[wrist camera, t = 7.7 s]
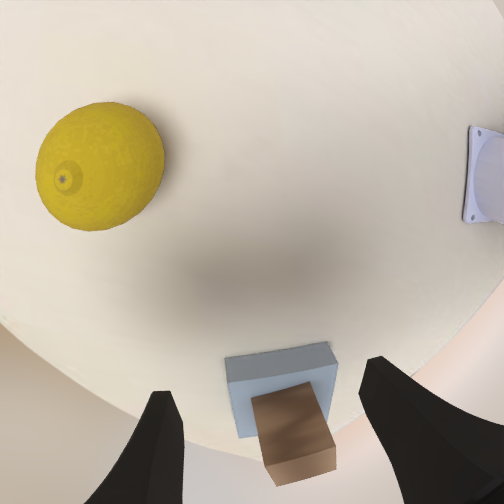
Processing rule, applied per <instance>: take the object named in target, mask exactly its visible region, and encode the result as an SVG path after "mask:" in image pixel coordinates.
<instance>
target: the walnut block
mask: <svg viewBox="0 0 504 504" xmlns="http://www.w3.org/2000/svg"><path fill="white" fill-rule="evenodd" d="M251 403H252V408H253V413H254V418H255V423H256V428H257V432H258V437H259V442H260V447H261V452H262V456H263V461H264V465H265V468H266V470H267V471H268V473H269V475H270V476H271V478H272V480H273V481H274V483H275V484H276V486H281V485H285V484H289V483H293V482H297V481H300V480H304V479H307V478H311V477H314V476H317V475H320V474H324V473H327V472H330V471H333V470H336V445H335V443H334V441H333V438H332V435H331V433H330V430H329V428H328V425H327V423H326V420H325V418H324V415H323V413H322V410H321V408H320V406H319V403H318V401H317V398H316V396H315V393H314V391H313V388H312V386H311V383H310V381H309V382H306V383H303V384H299V385H296V386H293V387H289V388H286V389H283V390H279V391H276V392H272V393H268V394H264V395H261V396H257V397H253V398H251Z"/></svg>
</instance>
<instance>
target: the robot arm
mask: <svg viewBox="0 0 504 504" xmlns="http://www.w3.org/2000/svg"><path fill="white" fill-rule="evenodd" d="M463 220H464V222H465V223H468V224H469V223H479V222H490V221H497V222H499V223H501V224H503V225H504V134H502V133H499V132H495V131H492V130H488V129H484V128H481V127H477V126H471V127H470V131H469V164H468V178H467V189H466V199H465V207H464V214H463ZM358 394H359V397H360V399H361V402H362V405H363V408H364V410H365V413H366V415H367V417H368V419H369V421H370V423H371V425H372V427H373V429H374V431H375V433H376V435H377V436H378V438H379V440H380V442H381V444H382V446H383V448H384V449H385V451H386V453H387V455H388V457H389V460H390V462H391V464H392V466H393V469H394V472H395V475H396V478H397V480H398V484H399V487H400V490H401V493H402V496H403V500H404V504H504V425H500V424H496V423H493V422H490V421H487V420H484V419H481V418H479V417H476V416H474V415H472V414H469V413H467V412H465V411H463V410H461V409H459V408H457V407H455V406H453V405H451V404H449V403H448V402H446V401H444V400H443V399H441V398H440V397H438V396H436V395H435V394H433V393H432V392H430V391H429V390H427V389H426V388H424V387H423V386H421V385H420V384H418V383H417V382H416V381H414V380H413V379H412V378H410V377H409V376H408V375H406V374H405V373H404V372H402V371H401V370H400V369H398V368H397V367H396V366H394V365H393V364H392V363H391V362H389V361H388V360H387V359H385V358H384V357H383V356H379V357H375V358H371V359H368V360H367V364H366V368H365V372H364V376H363V379H362V383H361V386H360V390H359V393H358ZM183 466H184V431H183V421H182V419H181V417H180V414H179V412H178V409H177V407H176V404H175V402H174V399H173V397H172V394H171V392H170V391H153V392H152V394H151V396H150V398H149V401H148V403H147V405H146V407H145V410H144V412H143V414H142V416H141V418H140V420H139V422H138V424H137V426H136V428H135V430H134V432H133V434H132V436H131V438H130V440H129V442H128V443H127V445H126V447H125V448H124V450H123V452H122V454H121V455H120V457H119V459H118V461H117V462H116V463H115V465H114V466H113V468H112V470H111V471H110V472H109V474H108V475H107V476H106V478H105V479H104V481H103V482H102V483H101V484H100V486H99V487H98V488H97V489H96V491H95V492H94V493H93V494H92V495H91V497H90V498H89V499H88V500H87V501H86V502H85V503H84V504H182V490H183Z"/></svg>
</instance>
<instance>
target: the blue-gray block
mask: <svg viewBox="0 0 504 504" xmlns="http://www.w3.org/2000/svg"><path fill="white" fill-rule="evenodd" d="M225 364H226V374H227V383H228V388H229V393H230V398H231V403H232V408H233V413H234V418H235V423H236V428H237V432H238V437H239V438H247V437H254V436H258V432H257V428H256V423H255V418H254V413H253V408H252V403H251V398H253V397H257V396H261V395H264V394H268V393H272V392H276V391H279V390H283V389H286V388H289V387H293V386H296V385H299V384H303V383H306V382H309V381H310V383H311V386H312V388H313V391H314V393H315V396H316V398H317V401H318V403H319V406H320V408H321V410H322V413H323V415H324V418H325V420H326V422H327V419H328V415H329V410H330V405H331V400H332V395H333V390H334V385H335V379H336V374H337V368H338V362H337V360H336V358H335V356H334V354H333V352H332V350H331V349H330V347H329V345H328V343H327V342H322V343H317V344H312V345H307V346H302V347H296V348H290V349H284V350H278V351H272V352H266V353H259V354H252V355H245V356H237V357H229V358H225Z"/></svg>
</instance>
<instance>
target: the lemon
mask: <svg viewBox="0 0 504 504" xmlns="http://www.w3.org/2000/svg"><path fill="white" fill-rule="evenodd" d="M164 156H165V153H164V149H163V144H162V140H161V137H160V135H159V133H158V132H157V130H156V128H155V126H154V125H153V124H152V123H151V121H150V120H149V119H148V118H147V117H146V116H145V115H144V114H142V113H141V112H139V111H137V110H136V109H134V108H132V107H130V106H127V105H123V104H119V103H115V102H103V103H93V104H90V105H87V106H84V107H81V108H78V109H76V110H74V111H72V112H71V113H69V114H68V115H67V116H65V117H64V118H62V119H61V120H59V121H58V122H57V123H56V125H55V126H54V127H53V128H52V129H51V130H50V132H49V133H48V134H47V135H46V137H45V139H44V141H43V143H42V145H41V147H40V150H39V154H38V158H37V162H36V175H35V178H36V184H37V189H38V192H39V195H40V197H41V200H42V202H43V204H44V205H45V207H46V208H47V209H48V211H49V212H50V213H51V214H52V215H53V216H54V217H55V218H56V219H57V220H59V221H60V222H61V223H63V224H65V225H67V226H69V227H71V228H74V229H79V230H84V231H99V230H107V229H110V228H113V227H115V226H118V225H121V224H123V223H125V222H127V221H128V220H130V219H131V218H133V217H134V216H136V215H137V214H139V213H140V212H141V211H142V210H143V209H144V208H145V207H146V205H147V204H148V203H149V202H150V201H151V200H152V198H153V197H154V195H155V193H156V191H157V189H158V187H159V185H160V183H161V179H162V175H163V171H164Z"/></svg>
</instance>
